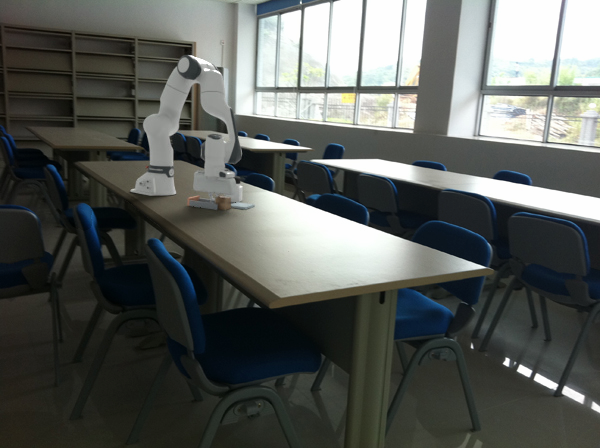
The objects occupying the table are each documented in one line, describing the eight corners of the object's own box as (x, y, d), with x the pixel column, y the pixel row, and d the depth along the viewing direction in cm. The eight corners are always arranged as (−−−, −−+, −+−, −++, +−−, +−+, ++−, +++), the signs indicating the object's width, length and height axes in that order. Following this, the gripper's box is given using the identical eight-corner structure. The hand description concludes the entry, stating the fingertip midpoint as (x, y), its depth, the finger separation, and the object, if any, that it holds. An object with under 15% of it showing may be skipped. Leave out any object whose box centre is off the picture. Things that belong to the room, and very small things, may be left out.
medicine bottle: (242, 200, 254) (243, 176, 251) (239, 202, 247) (240, 177, 244) (228, 199, 254) (228, 175, 252) (224, 201, 247) (225, 176, 245)
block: (215, 208, 229) (215, 197, 228) (220, 207, 233) (221, 196, 232) (225, 210, 227) (225, 198, 226) (230, 208, 232) (231, 197, 231)
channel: (187, 205, 232) (187, 198, 231) (197, 203, 240) (198, 195, 239) (216, 209, 227) (216, 201, 226) (226, 207, 234) (226, 199, 234)
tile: (227, 207, 234) (227, 204, 234) (237, 204, 243) (237, 202, 242) (245, 209, 231) (245, 207, 231) (254, 206, 240) (254, 204, 239)
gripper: (190, 170, 229) (190, 201, 232) (231, 174, 222) (230, 206, 225) (198, 169, 235) (197, 199, 238) (238, 173, 228) (237, 204, 231)
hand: (214, 202), depth 231 cm, fingers closed
